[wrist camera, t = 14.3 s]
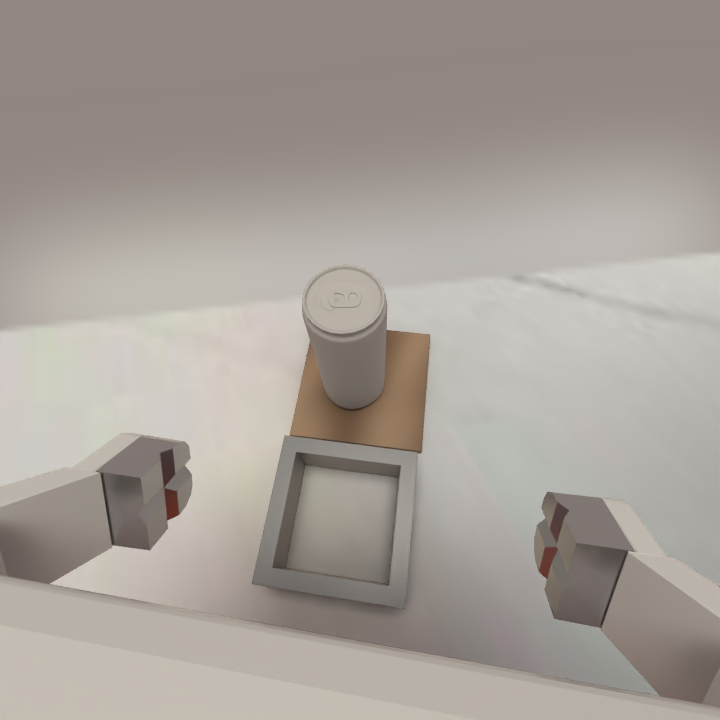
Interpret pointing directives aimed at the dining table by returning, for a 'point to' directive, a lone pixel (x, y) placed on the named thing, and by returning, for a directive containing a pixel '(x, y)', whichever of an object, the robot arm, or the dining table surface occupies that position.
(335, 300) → the beverage can
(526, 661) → the dining table surface
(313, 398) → the coaster
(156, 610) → the robot arm
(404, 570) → the can holder
